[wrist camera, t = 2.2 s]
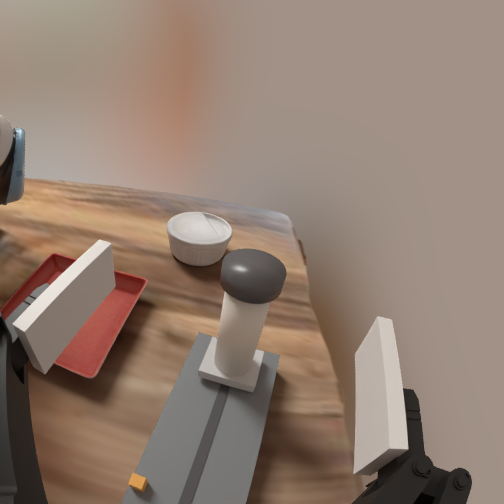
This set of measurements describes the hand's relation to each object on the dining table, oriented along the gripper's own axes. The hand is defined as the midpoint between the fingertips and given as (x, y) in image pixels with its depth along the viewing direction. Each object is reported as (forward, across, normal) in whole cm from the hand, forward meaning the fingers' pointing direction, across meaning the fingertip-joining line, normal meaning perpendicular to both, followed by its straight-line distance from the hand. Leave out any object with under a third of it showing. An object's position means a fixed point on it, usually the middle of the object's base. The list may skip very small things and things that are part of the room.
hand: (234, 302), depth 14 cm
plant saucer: (+11, -23, -22) cm, 34 cm away
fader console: (+1, 0, -22) cm, 22 cm away
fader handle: (+10, 0, -18) cm, 21 cm away
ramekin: (+34, -13, -22) cm, 43 cm away
